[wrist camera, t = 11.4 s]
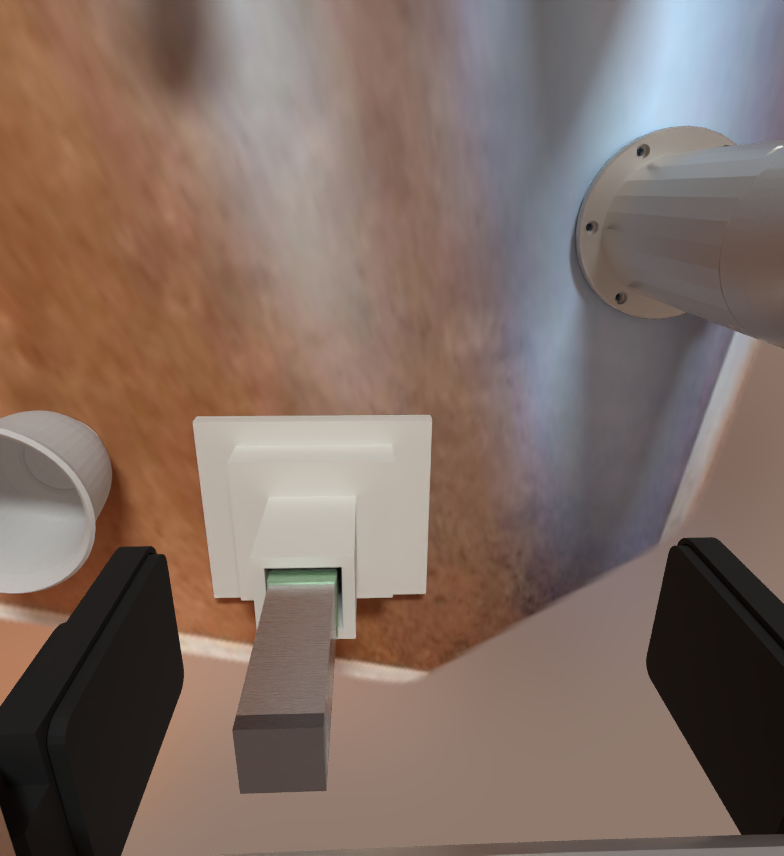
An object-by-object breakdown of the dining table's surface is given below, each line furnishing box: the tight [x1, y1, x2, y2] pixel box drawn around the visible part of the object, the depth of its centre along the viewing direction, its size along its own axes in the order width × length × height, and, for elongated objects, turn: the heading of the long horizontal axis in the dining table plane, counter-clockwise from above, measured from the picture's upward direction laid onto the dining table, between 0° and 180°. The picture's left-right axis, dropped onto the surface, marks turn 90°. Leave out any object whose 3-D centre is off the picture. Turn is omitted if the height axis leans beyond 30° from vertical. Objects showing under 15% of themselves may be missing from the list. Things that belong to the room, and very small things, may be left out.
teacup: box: [0, 411, 112, 594], centre depth 42 cm, size 12×15×10 cm
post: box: [233, 567, 340, 794], centre depth 35 cm, size 4×4×17 cm
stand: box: [193, 415, 432, 639], centre depth 43 cm, size 18×16×13 cm
